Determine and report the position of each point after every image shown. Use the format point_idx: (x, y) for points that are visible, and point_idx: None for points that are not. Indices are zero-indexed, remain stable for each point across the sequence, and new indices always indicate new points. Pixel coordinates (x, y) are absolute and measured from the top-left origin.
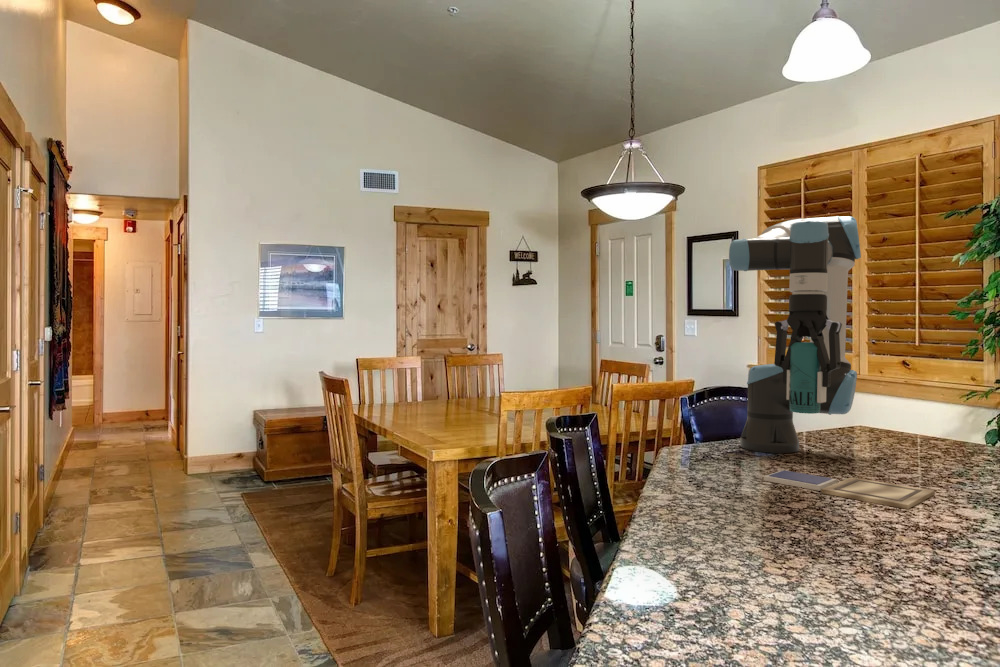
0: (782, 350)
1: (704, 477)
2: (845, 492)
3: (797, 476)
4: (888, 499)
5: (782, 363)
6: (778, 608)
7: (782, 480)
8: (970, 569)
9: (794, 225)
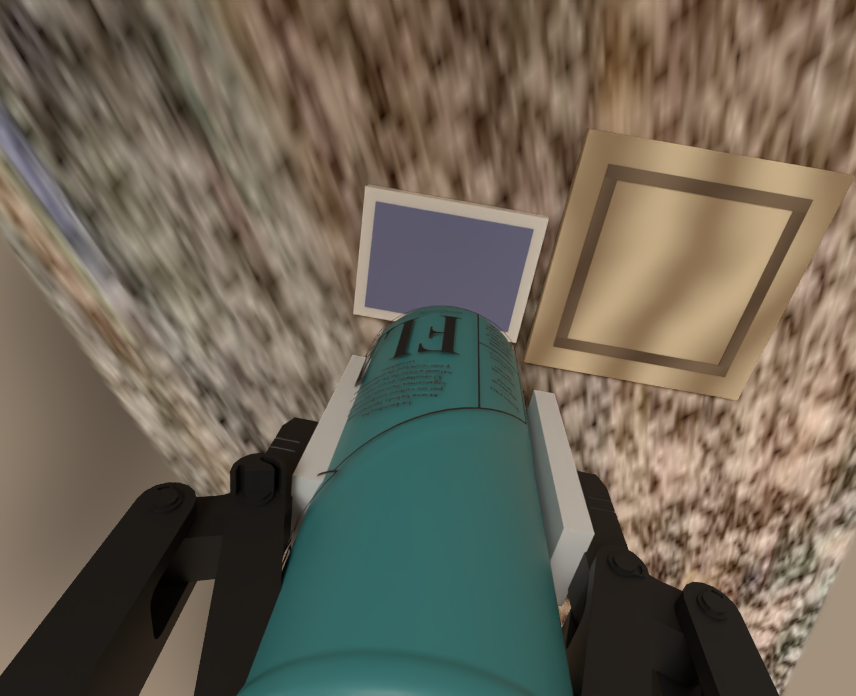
0: (125, 688)
1: (222, 365)
2: (586, 362)
3: (436, 271)
4: (693, 373)
5: (213, 568)
6: None
7: None
8: (772, 656)
9: None
